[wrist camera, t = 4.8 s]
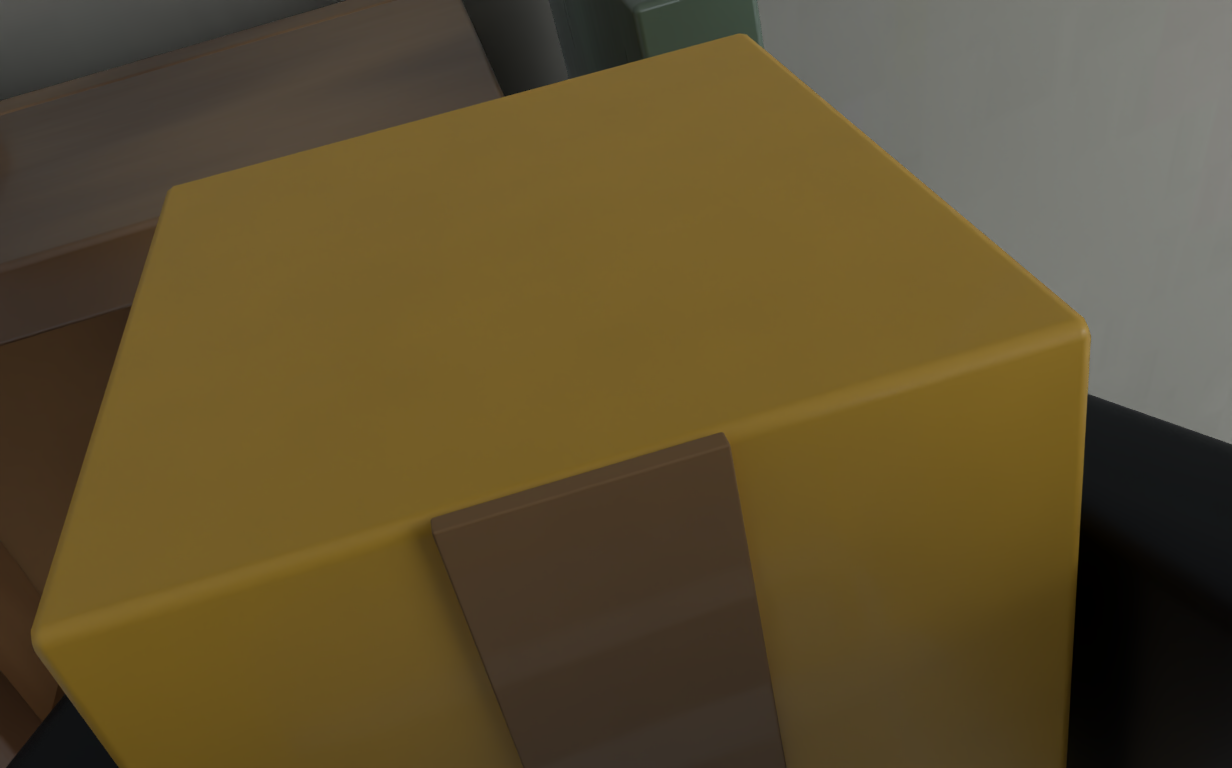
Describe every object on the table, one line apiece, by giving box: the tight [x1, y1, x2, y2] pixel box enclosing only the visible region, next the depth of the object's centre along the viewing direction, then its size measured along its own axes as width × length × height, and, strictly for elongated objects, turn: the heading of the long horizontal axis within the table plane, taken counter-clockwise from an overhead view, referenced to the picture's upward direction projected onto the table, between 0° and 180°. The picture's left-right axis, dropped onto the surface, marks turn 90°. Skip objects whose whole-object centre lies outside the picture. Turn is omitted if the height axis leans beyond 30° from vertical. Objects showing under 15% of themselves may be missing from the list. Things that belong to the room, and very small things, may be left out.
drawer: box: [0, 0, 764, 722], centre depth 16 cm, size 14×11×7 cm
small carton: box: [31, 33, 1091, 768], centre depth 8 cm, size 5×4×5 cm
